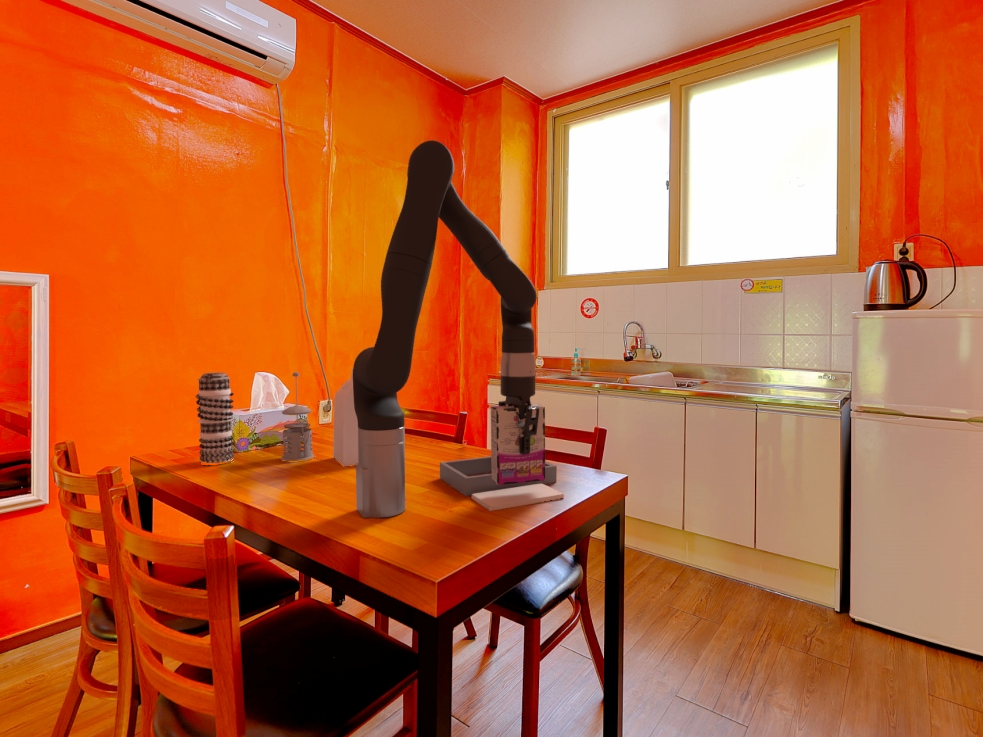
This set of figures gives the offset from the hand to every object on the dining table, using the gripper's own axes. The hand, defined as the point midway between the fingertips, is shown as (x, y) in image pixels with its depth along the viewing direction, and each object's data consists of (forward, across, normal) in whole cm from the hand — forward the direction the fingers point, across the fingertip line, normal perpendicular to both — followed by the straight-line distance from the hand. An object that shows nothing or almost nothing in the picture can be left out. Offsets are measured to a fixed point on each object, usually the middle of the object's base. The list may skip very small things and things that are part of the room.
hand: (517, 450), depth 112 cm
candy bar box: (+7, 0, 0) cm, 7 cm away
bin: (+11, +14, -2) cm, 18 cm away
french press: (+11, +60, +38) cm, 72 cm away
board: (+11, 0, 0) cm, 11 cm away
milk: (+11, +50, +23) cm, 57 cm away
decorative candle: (+11, +66, +59) cm, 89 cm away
